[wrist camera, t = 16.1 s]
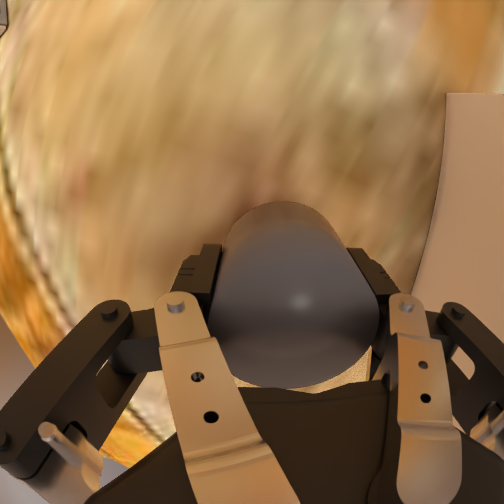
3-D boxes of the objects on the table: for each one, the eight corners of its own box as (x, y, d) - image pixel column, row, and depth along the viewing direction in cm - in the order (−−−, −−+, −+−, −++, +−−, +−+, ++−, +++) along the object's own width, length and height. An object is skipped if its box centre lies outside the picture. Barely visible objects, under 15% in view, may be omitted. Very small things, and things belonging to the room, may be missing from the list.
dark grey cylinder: (221, 199, 11) (200, 257, 7) (346, 204, 11) (399, 262, 7) (223, 304, 14) (212, 387, 9) (328, 305, 14) (354, 384, 9)
